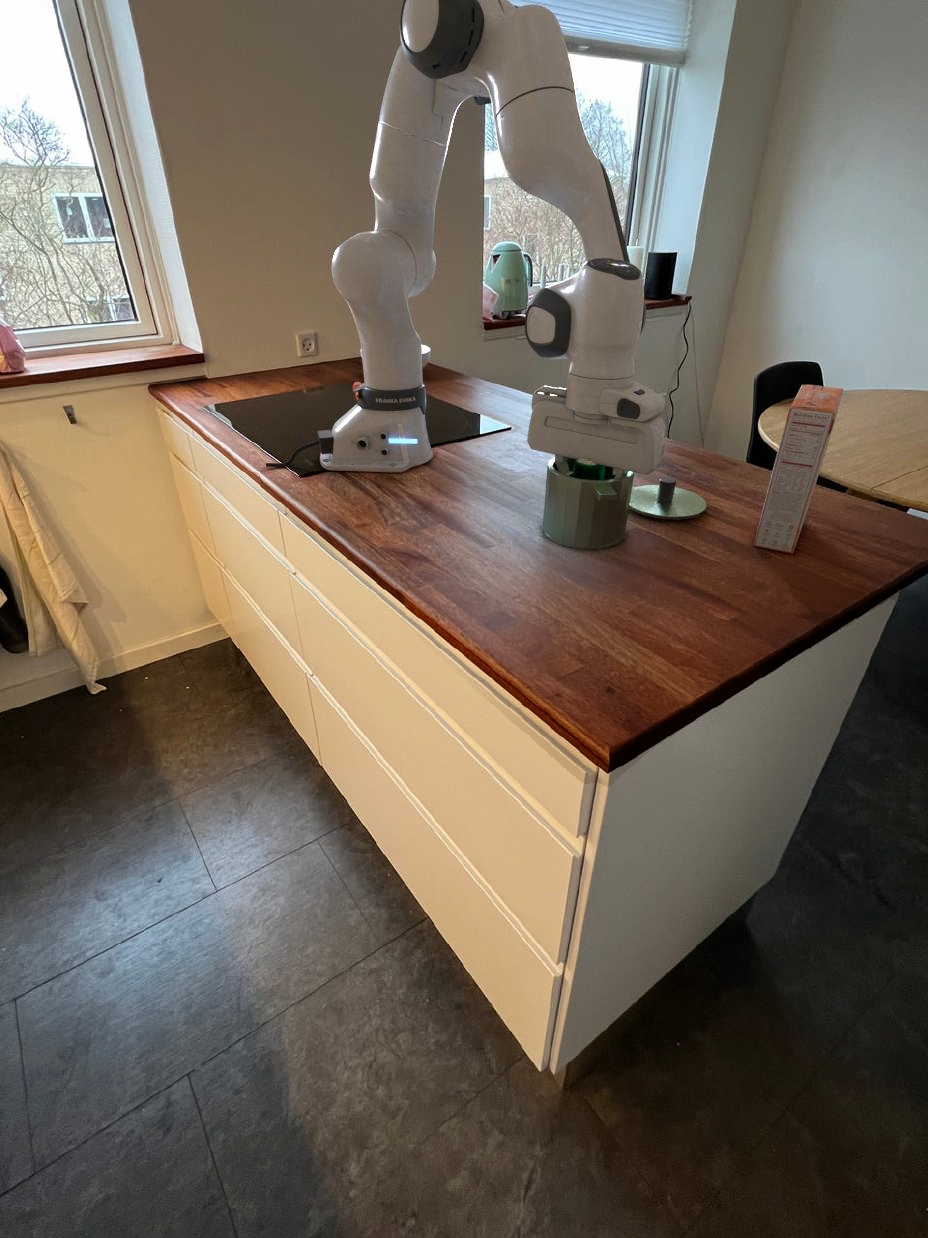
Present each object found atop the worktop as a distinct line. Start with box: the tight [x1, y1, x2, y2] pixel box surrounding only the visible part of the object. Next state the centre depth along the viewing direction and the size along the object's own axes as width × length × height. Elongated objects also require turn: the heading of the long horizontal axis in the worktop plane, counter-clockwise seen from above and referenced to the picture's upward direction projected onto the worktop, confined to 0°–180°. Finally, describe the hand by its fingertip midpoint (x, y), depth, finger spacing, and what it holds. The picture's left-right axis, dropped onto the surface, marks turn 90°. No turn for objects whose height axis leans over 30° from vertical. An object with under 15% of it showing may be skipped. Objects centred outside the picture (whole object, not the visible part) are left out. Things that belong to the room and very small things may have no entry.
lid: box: [629, 476, 707, 521], centre depth 106 cm, size 14×14×5 cm
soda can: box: [573, 456, 609, 480], centre depth 96 cm, size 5×5×12 cm
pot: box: [542, 456, 635, 550], centre depth 96 cm, size 13×18×10 cm
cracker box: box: [752, 384, 844, 555], centre depth 93 cm, size 14×6×21 cm, turn 150°
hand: (587, 489), depth 95 cm, fingers open, 6 cm apart
